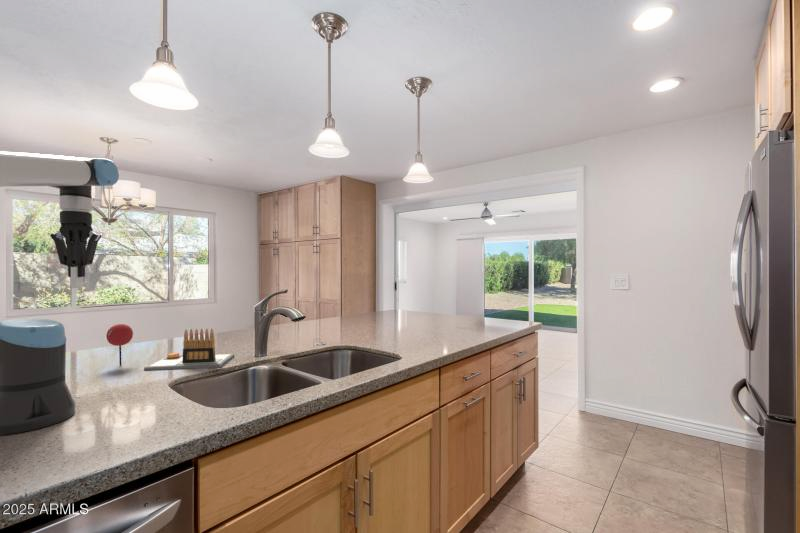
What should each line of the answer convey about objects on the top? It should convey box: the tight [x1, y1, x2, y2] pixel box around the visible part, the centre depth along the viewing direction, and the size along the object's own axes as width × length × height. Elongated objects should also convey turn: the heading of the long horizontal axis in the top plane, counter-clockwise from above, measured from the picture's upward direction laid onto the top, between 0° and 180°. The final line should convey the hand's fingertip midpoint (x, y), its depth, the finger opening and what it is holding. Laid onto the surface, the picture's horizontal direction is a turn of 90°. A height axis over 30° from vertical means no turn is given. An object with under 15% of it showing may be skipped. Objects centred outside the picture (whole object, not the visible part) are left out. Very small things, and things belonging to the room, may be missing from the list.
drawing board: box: [143, 353, 235, 371], centre depth 138 cm, size 16×25×1 cm, turn 98°
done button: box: [166, 352, 180, 358], centre depth 142 cm, size 4×4×1 cm
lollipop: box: [106, 323, 134, 366], centre depth 135 cm, size 8×8×15 cm
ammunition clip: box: [182, 328, 216, 363], centre depth 135 cm, size 11×2×12 cm, turn 98°
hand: (76, 287), depth 115 cm, fingers closed
